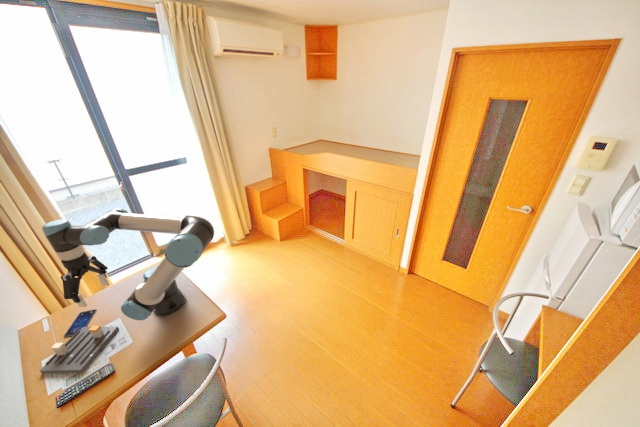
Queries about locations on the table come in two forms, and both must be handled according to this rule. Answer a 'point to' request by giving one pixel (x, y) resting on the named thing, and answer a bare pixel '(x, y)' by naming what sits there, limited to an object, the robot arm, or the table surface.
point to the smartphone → (80, 322)
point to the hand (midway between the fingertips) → (95, 295)
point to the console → (79, 351)
